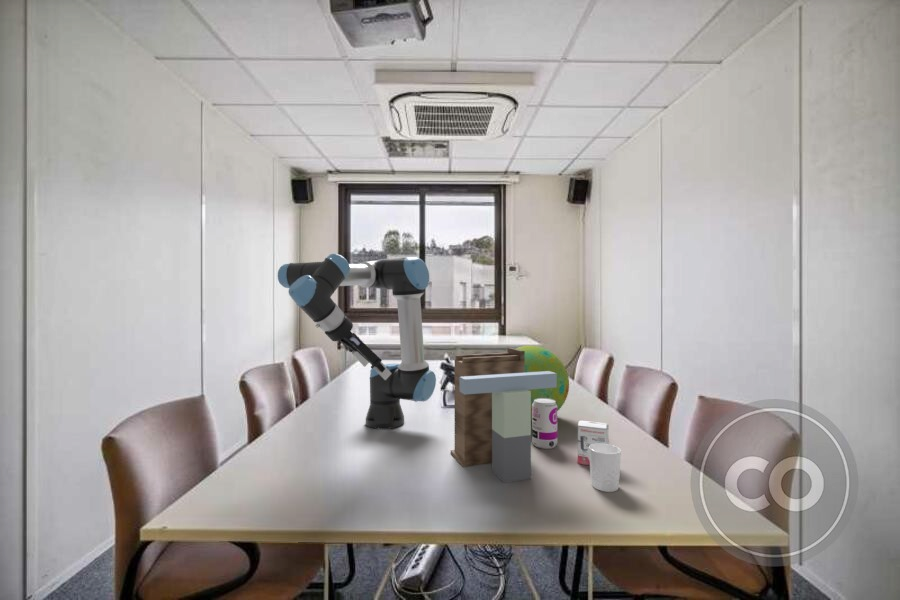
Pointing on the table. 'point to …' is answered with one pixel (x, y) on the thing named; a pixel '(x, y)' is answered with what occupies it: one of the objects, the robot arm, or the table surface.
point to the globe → (546, 361)
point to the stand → (479, 404)
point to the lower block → (511, 457)
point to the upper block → (511, 413)
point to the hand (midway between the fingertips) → (377, 369)
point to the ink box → (590, 438)
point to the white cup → (605, 466)
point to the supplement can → (544, 423)
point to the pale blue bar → (507, 382)
